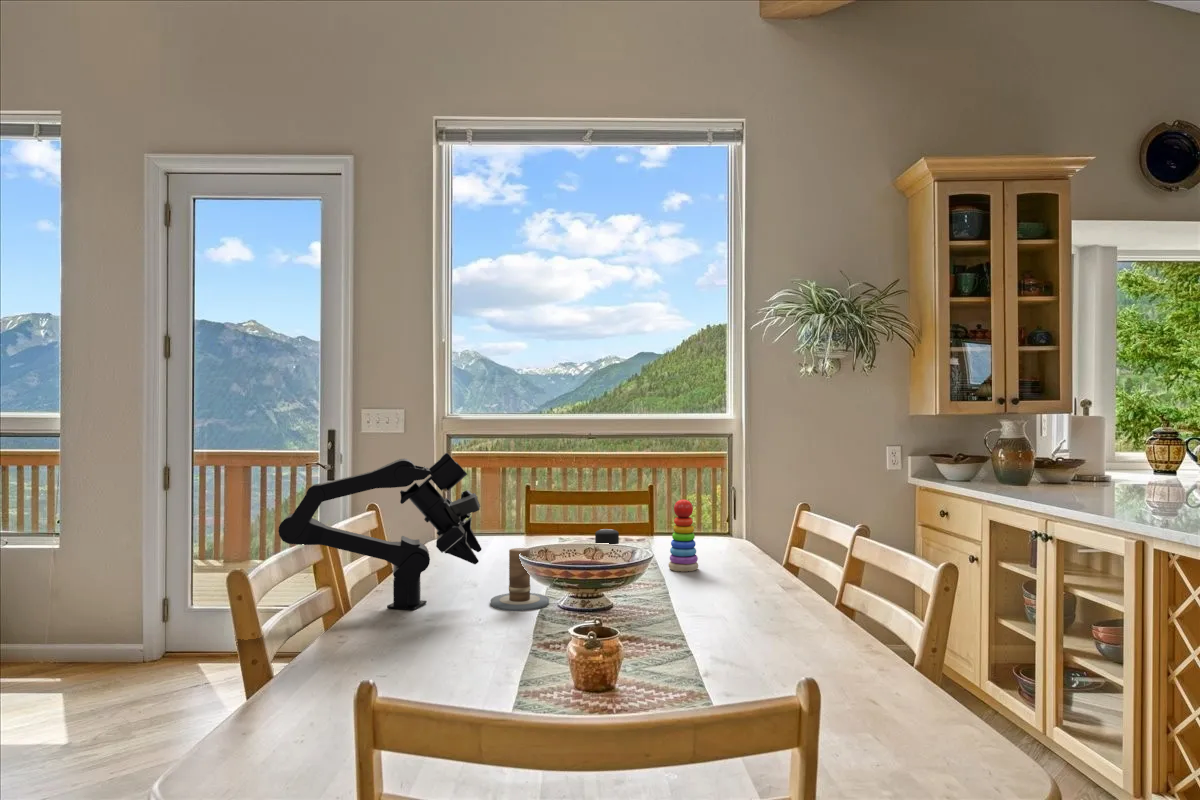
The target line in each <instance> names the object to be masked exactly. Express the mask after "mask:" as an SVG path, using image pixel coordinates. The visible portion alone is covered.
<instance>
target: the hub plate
mask: <svg viewBox="0 0 1200 800" xmlns="http://www.w3.org/2000/svg"><path fill="white" fill-rule="evenodd" d="M489 604H490V606H491V607H492V608H494V609H497V610H502V611H509V612H511V611H513V612H517V611H519V612H520V611H533V610H539V609H542V608H545V607H547V606H549V604H550V598H549V597H548V596H547V595H545V594H541V593H535V592H530V600H528V601H523V602H514V601H510V600H509V592H508V593H502V594H499V595H495V596H493V597H492V598H490V601H489Z"/></svg>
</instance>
